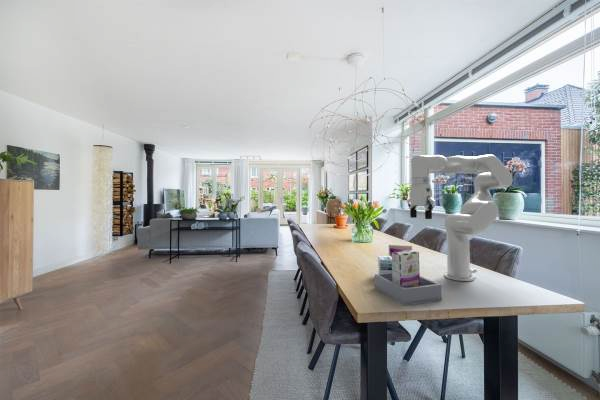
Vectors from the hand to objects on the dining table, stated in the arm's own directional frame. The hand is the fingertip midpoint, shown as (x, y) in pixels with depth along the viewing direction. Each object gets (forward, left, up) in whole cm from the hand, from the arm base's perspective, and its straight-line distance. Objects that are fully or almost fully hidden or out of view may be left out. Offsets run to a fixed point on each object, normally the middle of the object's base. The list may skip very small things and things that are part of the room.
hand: (420, 218), depth 121 cm
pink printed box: (+1, -13, -31) cm, 33 cm away
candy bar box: (+16, +10, -29) cm, 35 cm away
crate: (+17, +10, -30) cm, 36 cm away
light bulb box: (+13, -9, -31) cm, 34 cm away
